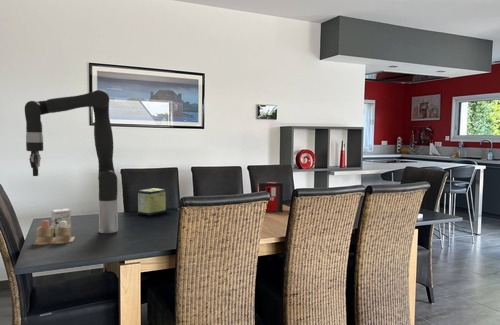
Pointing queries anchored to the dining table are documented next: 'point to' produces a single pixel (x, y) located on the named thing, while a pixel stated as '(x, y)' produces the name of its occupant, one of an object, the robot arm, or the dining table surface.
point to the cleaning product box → (273, 195)
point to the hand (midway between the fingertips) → (35, 175)
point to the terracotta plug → (45, 224)
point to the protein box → (151, 201)
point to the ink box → (60, 217)
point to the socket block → (61, 235)
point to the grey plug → (63, 224)
